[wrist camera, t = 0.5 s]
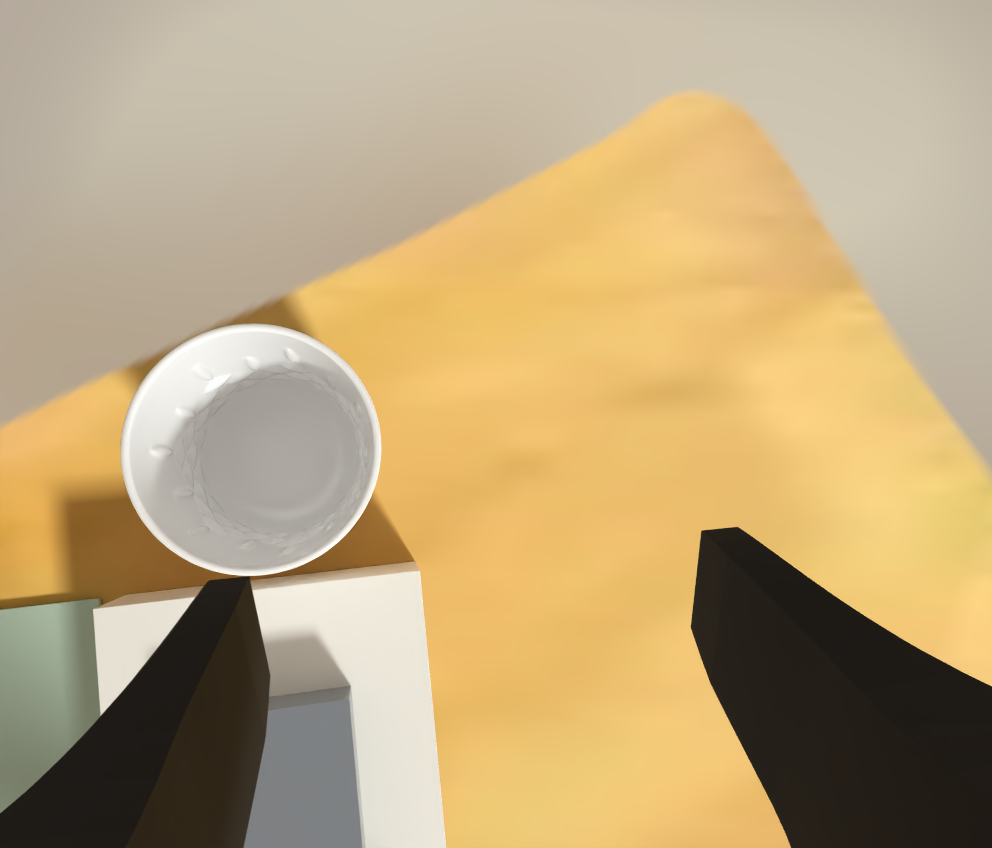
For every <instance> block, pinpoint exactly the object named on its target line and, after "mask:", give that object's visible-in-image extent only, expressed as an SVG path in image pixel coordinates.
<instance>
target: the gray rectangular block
mask: <svg viewBox="0 0 992 848" xmlns="http://www.w3.org/2000/svg"><path fill="white" fill-rule="evenodd" d="M244 848H366V847H365V836H364V825H363V814H362V803H361V791H360V780H359V769H358V758H357V747H356V735H355V724H354V713H353V702H352V691H351V686H345V687H337V688H330V689H323V690H316V691H308V692H301V693H294V694H286V695H279V696H272V697H269V704H268V717H267V728H266V738H265V744H264V749H263V754H262V759H261V764H260V769H259V774H258V779H257V784H256V789H255V794H254V799H253V804H252V809H251V814H250V819H249V824H248V829H247V834H246V839H245V843H244Z"/></svg>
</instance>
